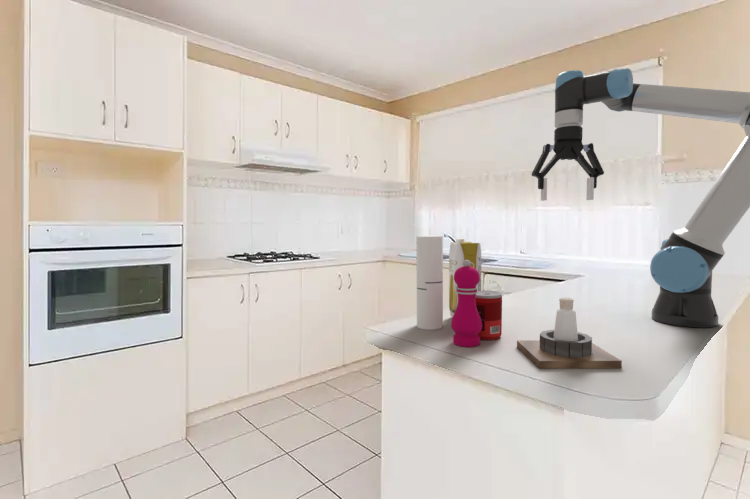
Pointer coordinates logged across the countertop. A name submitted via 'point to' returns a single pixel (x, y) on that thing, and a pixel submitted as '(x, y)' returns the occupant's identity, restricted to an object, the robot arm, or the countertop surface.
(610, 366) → the collar plate
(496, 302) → the canned food
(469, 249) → the juice carton
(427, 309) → the cylindrical container
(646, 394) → the countertop surface
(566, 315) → the pepper shaker
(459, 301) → the pepper mill
